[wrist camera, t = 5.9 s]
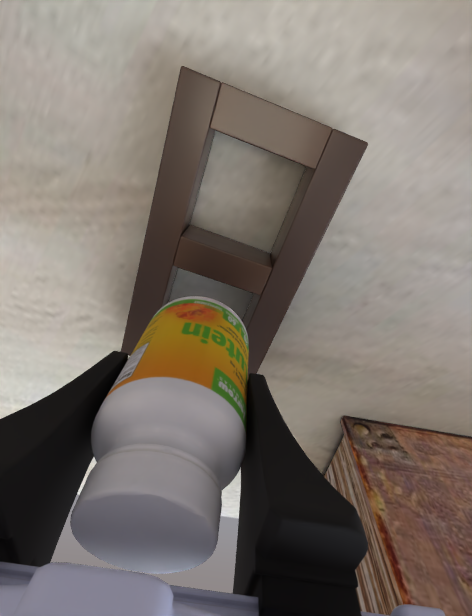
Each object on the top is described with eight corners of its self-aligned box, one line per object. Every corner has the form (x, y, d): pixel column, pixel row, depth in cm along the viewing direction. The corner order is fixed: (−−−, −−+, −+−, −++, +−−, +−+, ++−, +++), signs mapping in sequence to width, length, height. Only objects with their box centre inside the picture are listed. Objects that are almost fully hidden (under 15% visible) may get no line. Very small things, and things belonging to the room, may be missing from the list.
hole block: (352, 143, 18) (369, 143, 16) (248, 366, 26) (247, 391, 24) (192, 77, 17) (181, 64, 15) (134, 331, 25) (120, 353, 23)
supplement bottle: (269, 330, 16) (287, 534, 8) (212, 391, 19) (177, 603, 10) (183, 272, 15) (92, 440, 7) (132, 344, 17) (13, 542, 9)
